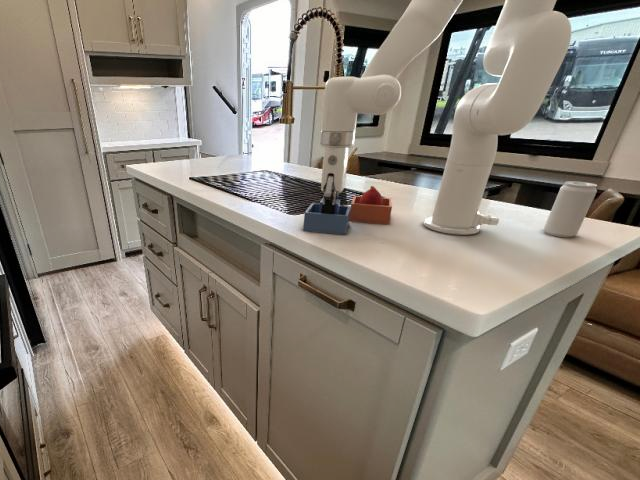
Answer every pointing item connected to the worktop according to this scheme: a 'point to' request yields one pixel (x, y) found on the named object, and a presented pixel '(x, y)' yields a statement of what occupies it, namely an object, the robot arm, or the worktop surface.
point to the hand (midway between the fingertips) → (328, 217)
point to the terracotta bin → (370, 211)
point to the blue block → (337, 203)
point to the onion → (371, 197)
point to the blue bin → (326, 220)
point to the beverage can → (570, 208)
